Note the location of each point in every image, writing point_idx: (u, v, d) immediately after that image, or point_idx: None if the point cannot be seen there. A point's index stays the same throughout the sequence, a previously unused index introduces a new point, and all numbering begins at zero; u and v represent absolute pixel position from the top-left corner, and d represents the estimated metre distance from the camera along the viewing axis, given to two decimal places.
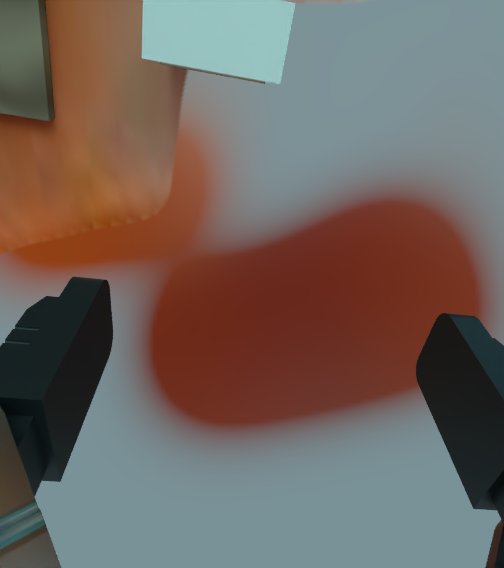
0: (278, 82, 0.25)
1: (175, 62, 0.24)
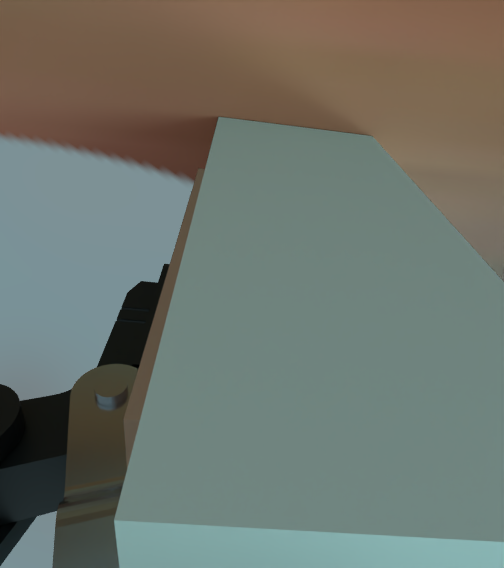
0: None
1: None
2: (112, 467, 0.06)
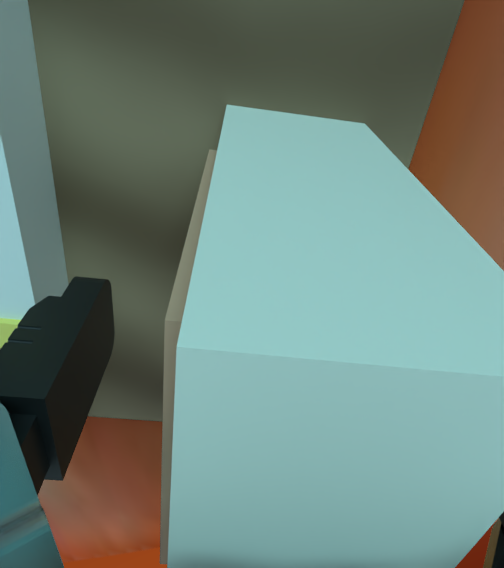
0: None
1: (181, 474, 0.05)
2: None
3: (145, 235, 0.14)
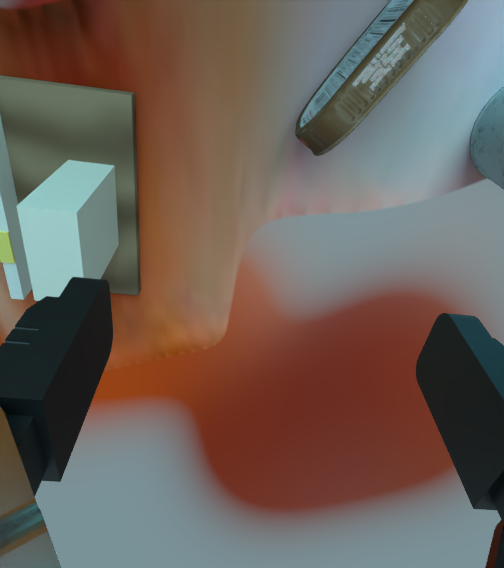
0: (35, 299, 0.33)
1: (22, 230, 0.30)
2: None
3: None
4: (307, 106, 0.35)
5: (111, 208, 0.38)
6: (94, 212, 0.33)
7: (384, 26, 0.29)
